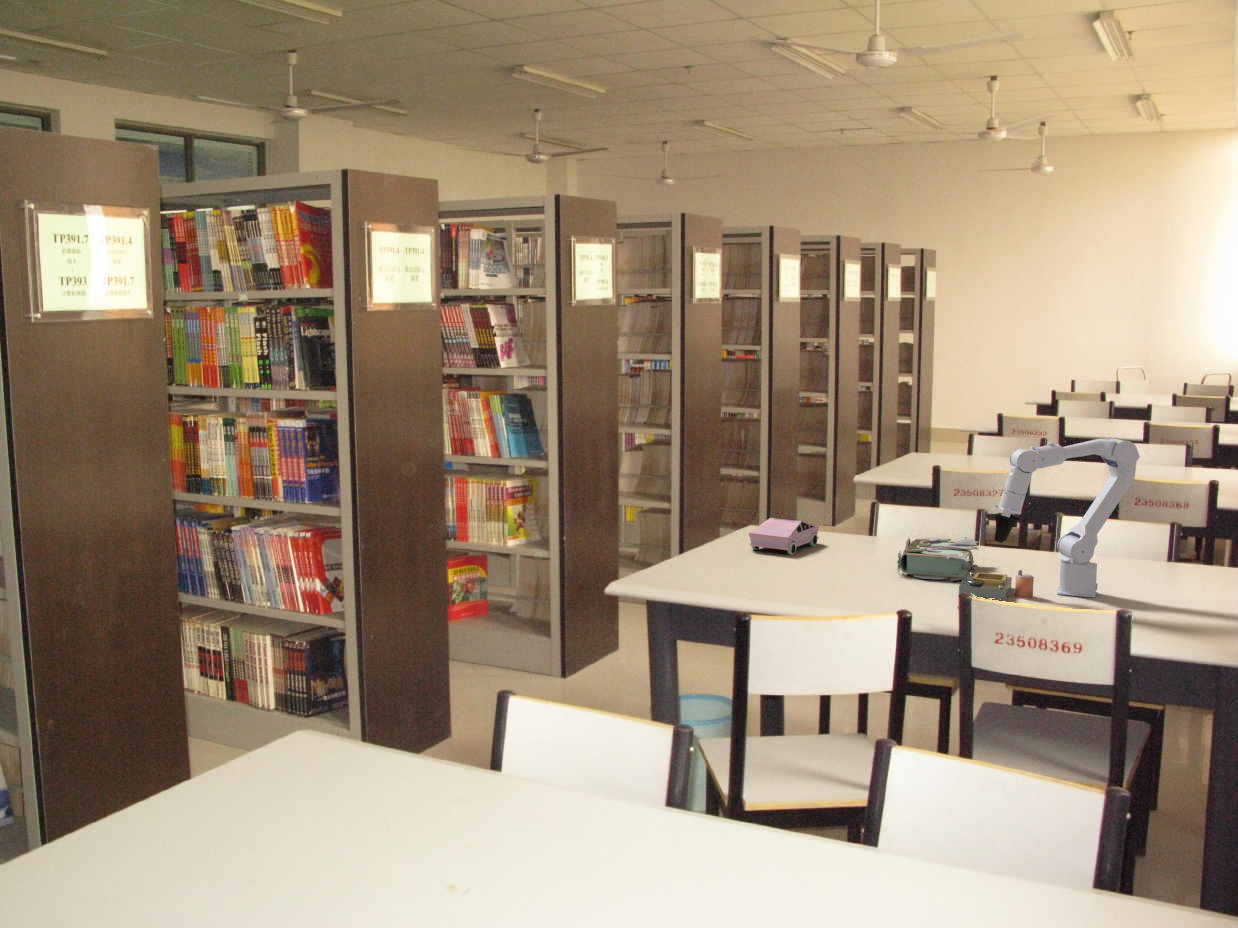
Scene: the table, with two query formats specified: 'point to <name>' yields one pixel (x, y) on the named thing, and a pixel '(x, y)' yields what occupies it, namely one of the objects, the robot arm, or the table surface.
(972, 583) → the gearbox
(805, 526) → the toy car
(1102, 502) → the robot arm
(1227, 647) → the table surface
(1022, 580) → the spout can
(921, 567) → the ornate book
